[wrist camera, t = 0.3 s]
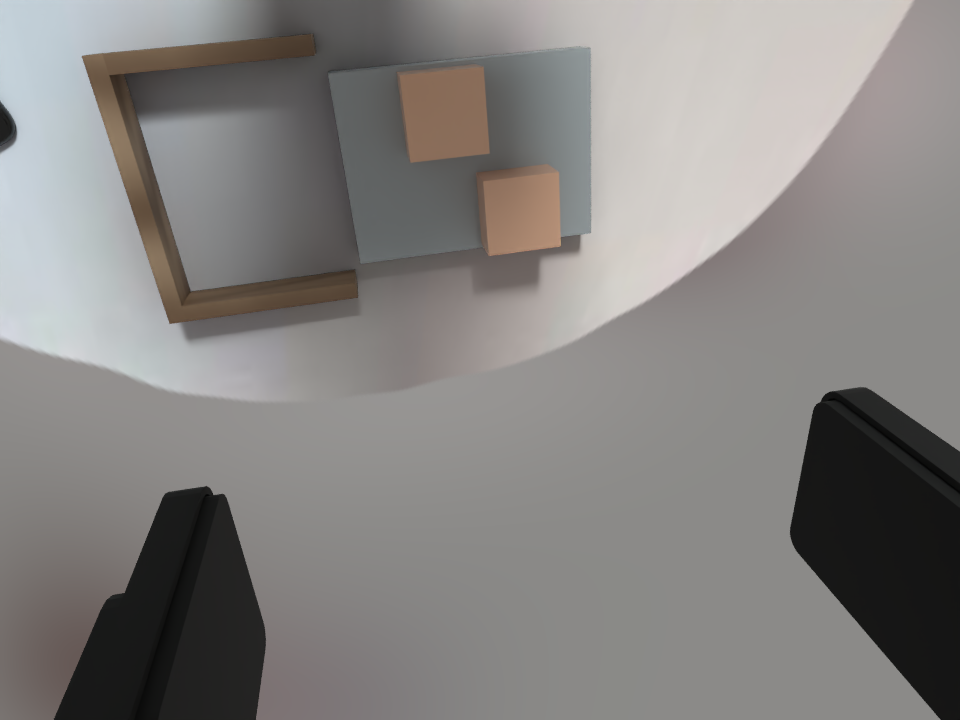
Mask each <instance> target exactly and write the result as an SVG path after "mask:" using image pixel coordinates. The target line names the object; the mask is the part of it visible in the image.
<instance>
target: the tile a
mask: <svg viewBox="0 0 960 720" xmlns="http://www.w3.org/2000/svg"><path fill="white" fill-rule="evenodd" d="M396 73H397V80H398V88H399V96H400V104H401V112H402V120H403V127H404V135H405V143H406V151H407V156H408V158H409V160H410V163H413V162H422V161H430V160H439V159H447V158H456V157H464V156H473V155H481V154H490V150H489V136H488V122H487V108H486V94H485V80H484V67H483V66H480V65H477V64H472V65H462V66H452V67H442V68H432V69H422V70H412V71H402V72H396Z"/></svg>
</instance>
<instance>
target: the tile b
mask: <svg viewBox="0 0 960 720" xmlns="http://www.w3.org/2000/svg"><path fill="white" fill-rule="evenodd" d="M476 181H477V193H478V205H479V218H480V230H481V242H482V245H483V247H484V249H485V250H486V252H487V254H488V255H489V256H494V255H501V254H508V253H516V252H523V251H530V250H538V249H545V248H553V247H560V246H561V233H560V191H559V172H558V171H557V170H555V169H554V168H553V167H551V166H550V165H549V164H543V165H535V166H526V167H518V168H510V169H501V170H493V171H485V172H476Z"/></svg>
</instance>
